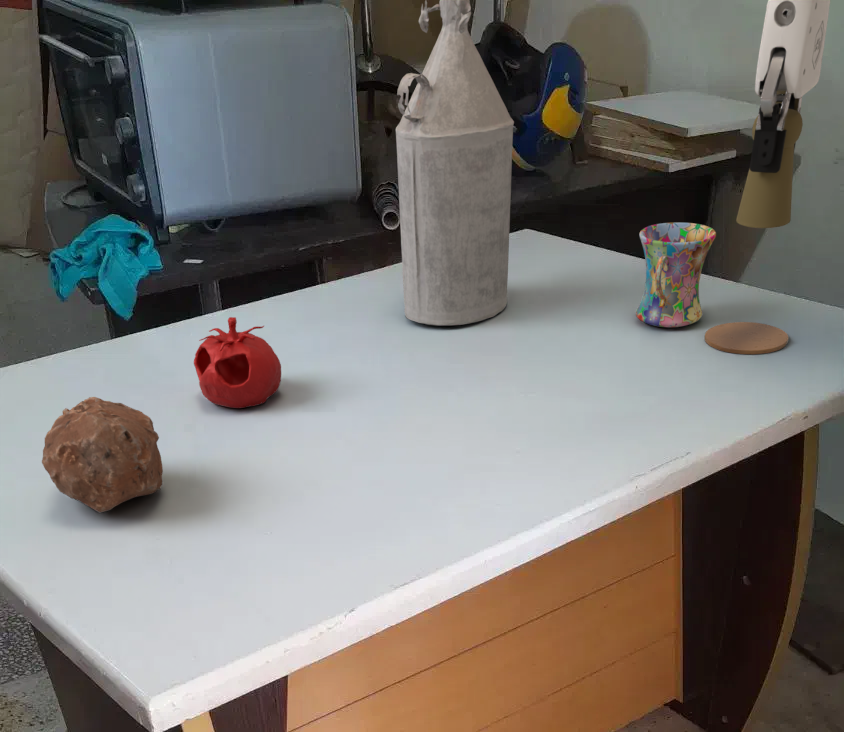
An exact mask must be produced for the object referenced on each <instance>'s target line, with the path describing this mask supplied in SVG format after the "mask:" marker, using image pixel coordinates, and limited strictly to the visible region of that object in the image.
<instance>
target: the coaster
mask: <svg viewBox="0 0 844 732" xmlns="http://www.w3.org/2000/svg"><path fill="white" fill-rule="evenodd" d="M704 342H705V343H706V344H707V345H708V346H709V347H711V348H713V349H715V350H718V351H720V352H725V353H729V354H736V355H762V354H763V355H764V354H770V353H775V352H777V351H779V350H782V349H784V348H785V347H786V346H787V344H788V343H789V334H788V333H787V332H785V331H784V329H781V328H779V327H777V326H773V325H771V324H767V323H762V322H751V321H750V322H749V321H735V322H726V323H721V324H717V325H714V326H711V327H710V328H708V329H707V330H706V331H705V333H704Z"/></svg>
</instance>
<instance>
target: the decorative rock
mask: <svg viewBox="0 0 844 732" xmlns="http://www.w3.org/2000/svg"><path fill="white" fill-rule="evenodd" d="M159 439H160V437H159V434H158V433H157V432H156V431H155V428H154V422H153V420H152V419H151V417H150V416H149V415H147V414H145V413H144V412H143V411H141V410H138V409H135V408H133V407H130V406H129V405H125V404H124V403H123V402H113V401H110V400H103V399H102V398H99V397H96V396H89V397H88V398H86V399H84V400H82V401H80V402H79V403H77V404H76V405H75V406H73V407H71V409H69V408H67V407H65V408H64V409H63V410H62V414H61V415H59V416H58V417H57V418H56V419H55V420H54V422H53V424H52V426H51V428H50V429H49V430H48V431H47V432H46V435H45V437H44V447H43V449H42V459H41V464H42V466H43V468H44V470H45V471H46V473H47V474H48V475H49V478H50V480H51V481H52V483H54V485H55V488H57V490H58V491H59V492H60V493H62V494H63V495H66V496H67V497H69V498H70V499H74V500H75V501H78V502H80V503H82V504H84V505H86V506H87V507H89V508H91V509H92V510H94V511H95V512H98V513H99V514H100V513H103V512H104V513H105V512H107V511H110V510H112V509H113V508H115V507H117V506H119V505H120V504H122V503H125V502H127V501H129V500H131V499H134V498H138V497H142V496H149V495H151V494H155V493H157V491H158V490H161V489H162V486H163V474H164V468H163V461H162V456H161V452H160V450H159V447H158V441H159Z"/></svg>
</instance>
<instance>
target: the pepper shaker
mask: <svg viewBox="0 0 844 732" xmlns="http://www.w3.org/2000/svg"><path fill="white" fill-rule="evenodd" d="M780 110H781V108H780ZM779 115H780V112H779ZM757 118H758V115H757V116H756V118H755V119H754V121H753V124H752V129H751V136H752V140H753V141H754V135H755V129H756V123H757ZM803 122H804V121H803V117H802V115H801V112H800V113H799V112H798V111H796V110H793V109H788V111H787V116H786V120H785V125H784V129H783V130H787V131H786V137H785V143H784V149H783V155H782V162H781V168H780V170H779V171H778V172H777V173H766V172H752V171H751V170H750V167H749V169H748V172H747V177H746V179H745V184H744V188H743V192H742V196H741V200H740V203H739V208H738V211H737V215H736V220H735V221H736V223H737V224H739V225H740V226H744V227H747V228H755V229H773V228H780V227H783V226H786V225H789V224H790V223H791V221H792V199H793V197H792V196H793V177H794V174H793V173H794V156H795V150H794V144H795V142H796V143H797V141H798V140H799V139H800V136H801V133H802V131H803V125H804V123H803ZM795 145H796V144H795ZM793 155H794V156H793Z"/></svg>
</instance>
